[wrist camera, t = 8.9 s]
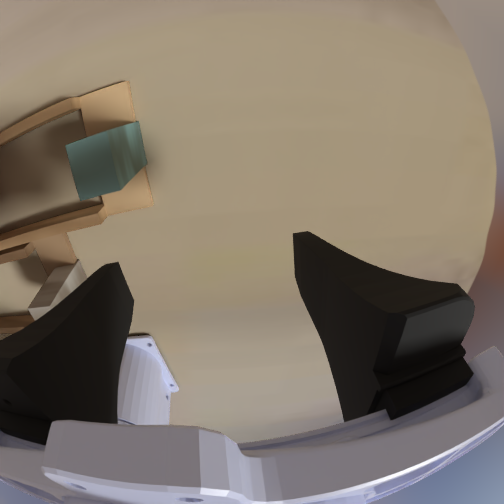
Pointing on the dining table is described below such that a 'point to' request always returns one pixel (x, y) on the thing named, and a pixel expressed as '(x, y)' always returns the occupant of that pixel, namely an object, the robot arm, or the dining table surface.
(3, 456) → the robot arm
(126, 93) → the wooden divided tray
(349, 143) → the dining table surface
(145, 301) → the dining table surface
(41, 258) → the lane empty
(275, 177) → the dining table surface
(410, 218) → the dining table surface
